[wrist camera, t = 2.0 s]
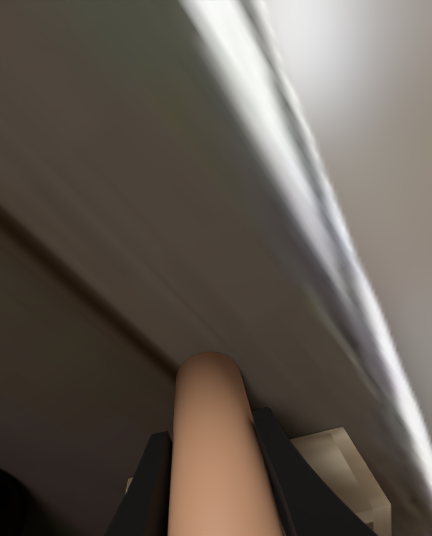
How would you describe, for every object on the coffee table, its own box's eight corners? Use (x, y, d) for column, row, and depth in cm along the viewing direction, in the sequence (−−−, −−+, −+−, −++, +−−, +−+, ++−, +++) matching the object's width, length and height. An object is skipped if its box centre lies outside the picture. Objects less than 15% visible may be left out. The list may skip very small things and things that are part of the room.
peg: (245, 398, 15) (325, 700, 6) (184, 412, 15) (180, 739, 6) (234, 345, 14) (312, 620, 5) (168, 360, 14) (138, 666, 5)
